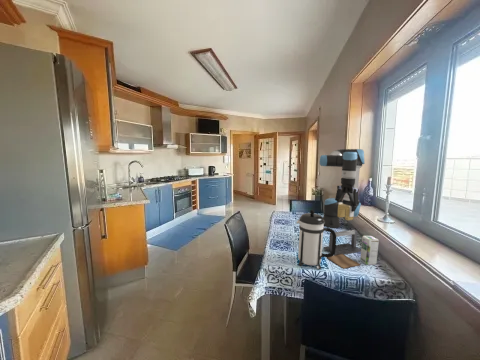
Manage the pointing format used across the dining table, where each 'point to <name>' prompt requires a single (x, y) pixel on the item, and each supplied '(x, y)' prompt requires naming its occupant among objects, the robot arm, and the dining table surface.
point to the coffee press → (313, 239)
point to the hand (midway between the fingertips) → (345, 214)
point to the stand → (346, 247)
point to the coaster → (343, 261)
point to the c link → (342, 211)
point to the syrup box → (369, 250)
